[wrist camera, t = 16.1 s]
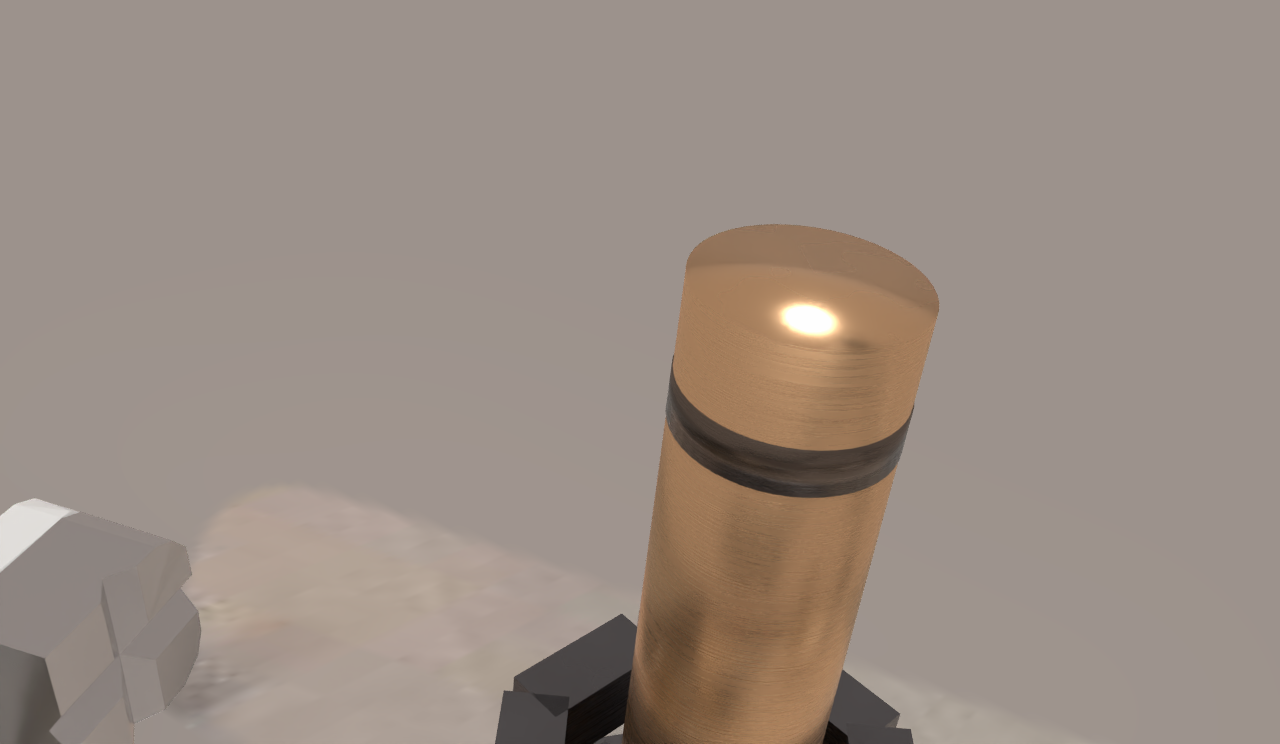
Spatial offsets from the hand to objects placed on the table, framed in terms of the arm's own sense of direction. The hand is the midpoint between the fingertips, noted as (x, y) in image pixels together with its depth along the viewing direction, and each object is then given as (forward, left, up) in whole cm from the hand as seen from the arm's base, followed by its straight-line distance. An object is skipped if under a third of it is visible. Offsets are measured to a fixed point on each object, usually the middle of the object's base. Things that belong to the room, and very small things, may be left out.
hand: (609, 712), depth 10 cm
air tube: (+6, -10, -22) cm, 25 cm away
